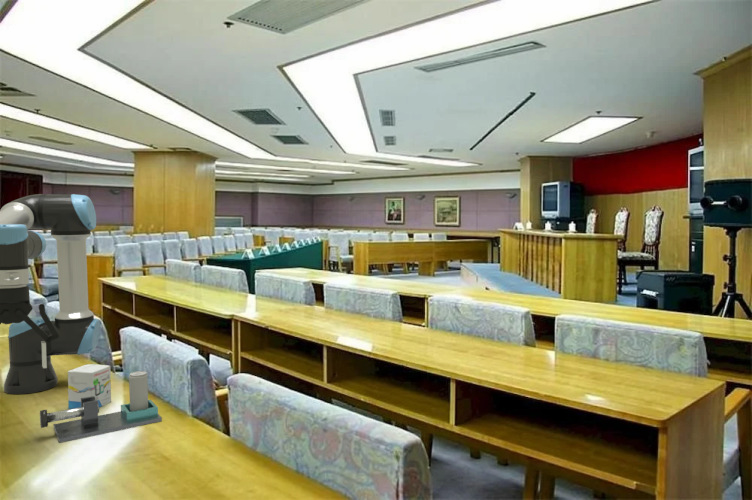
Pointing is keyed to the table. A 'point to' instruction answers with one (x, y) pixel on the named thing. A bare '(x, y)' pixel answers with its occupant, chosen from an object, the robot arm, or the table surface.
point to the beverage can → (138, 390)
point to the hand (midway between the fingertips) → (14, 371)
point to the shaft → (59, 415)
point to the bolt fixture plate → (104, 420)
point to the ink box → (89, 384)
